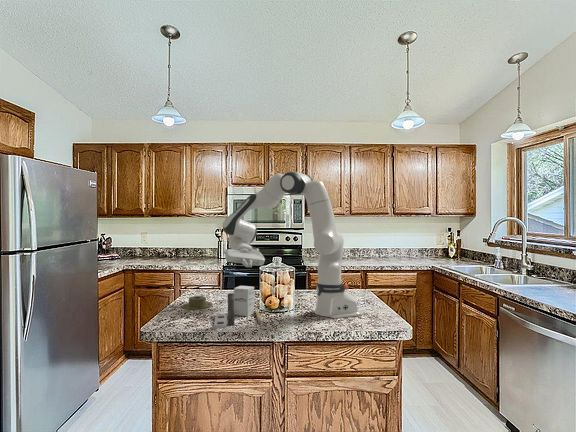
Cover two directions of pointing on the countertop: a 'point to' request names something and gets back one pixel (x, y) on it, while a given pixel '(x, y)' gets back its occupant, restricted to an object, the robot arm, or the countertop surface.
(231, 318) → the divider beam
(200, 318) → the countertop surface
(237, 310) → the supplement box
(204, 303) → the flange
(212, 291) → the countertop surface
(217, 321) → the gauge plate
